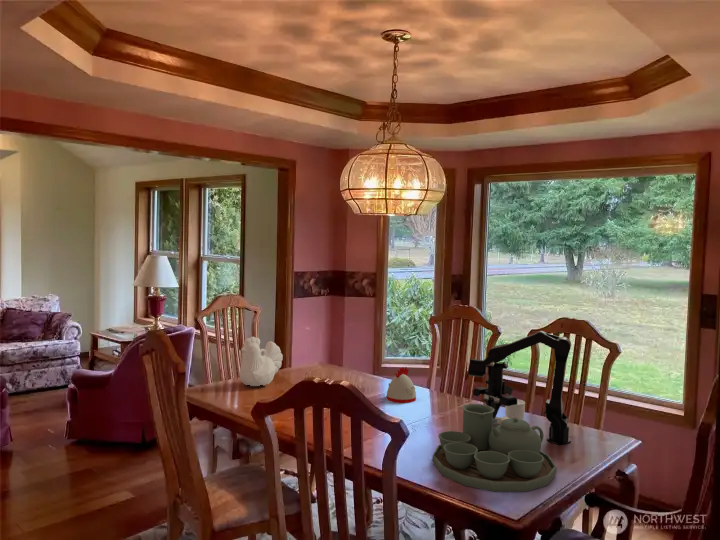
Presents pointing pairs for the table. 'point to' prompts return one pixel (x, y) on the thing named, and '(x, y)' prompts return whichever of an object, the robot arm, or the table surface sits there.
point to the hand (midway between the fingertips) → (493, 417)
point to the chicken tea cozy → (401, 388)
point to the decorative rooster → (259, 362)
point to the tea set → (494, 453)
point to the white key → (501, 419)
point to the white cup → (516, 410)
